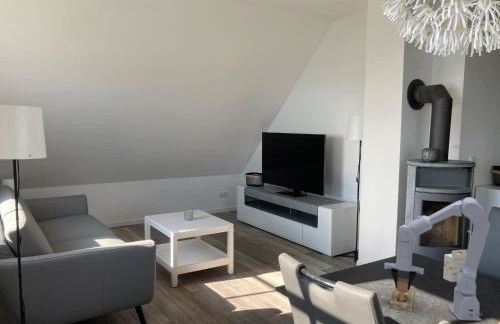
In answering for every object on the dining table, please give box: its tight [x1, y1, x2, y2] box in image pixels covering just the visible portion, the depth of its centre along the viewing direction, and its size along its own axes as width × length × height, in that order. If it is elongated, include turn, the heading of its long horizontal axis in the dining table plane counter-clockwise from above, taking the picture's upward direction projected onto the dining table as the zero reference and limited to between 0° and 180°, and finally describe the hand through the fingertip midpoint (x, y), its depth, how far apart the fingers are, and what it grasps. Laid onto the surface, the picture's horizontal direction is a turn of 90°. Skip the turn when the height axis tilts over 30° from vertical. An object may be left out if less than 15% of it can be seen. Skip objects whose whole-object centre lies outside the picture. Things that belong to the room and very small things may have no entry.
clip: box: [397, 277, 409, 302], centre depth 163 cm, size 4×7×8 cm, turn 156°
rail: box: [389, 284, 415, 312], centre depth 167 cm, size 8×22×2 cm, turn 156°
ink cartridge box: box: [442, 249, 467, 283], centre depth 189 cm, size 9×5×15 cm, turn 105°
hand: (402, 288), depth 163 cm, fingers closed on clip, 4 cm apart
